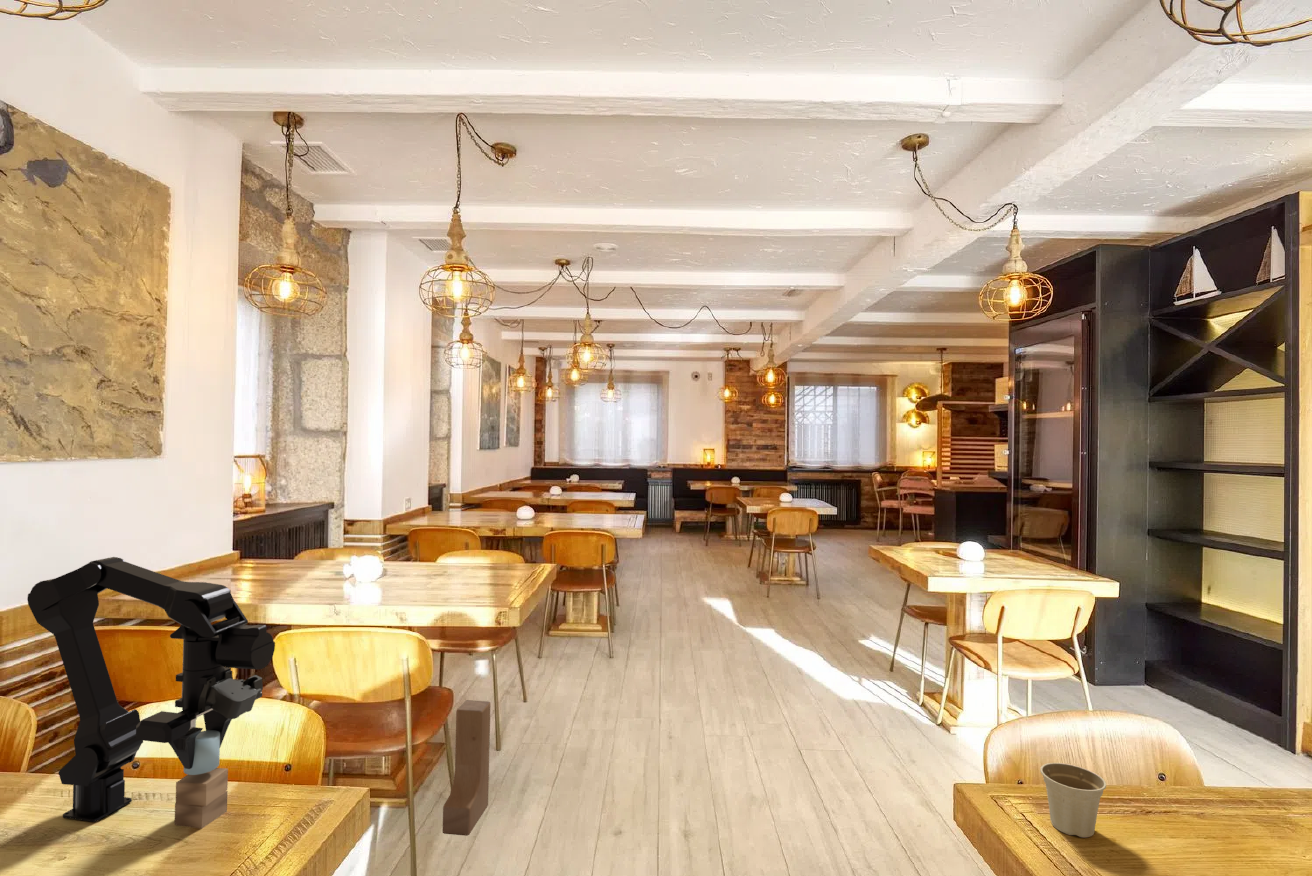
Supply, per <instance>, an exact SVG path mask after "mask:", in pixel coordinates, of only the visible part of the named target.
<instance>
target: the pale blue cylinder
mask: <svg viewBox="0 0 1312 876" xmlns="http://www.w3.org/2000/svg"><path fill="white" fill-rule="evenodd" d="M220 751H221V747H220V732H219V731H215V730H207V731H206V730H202V731H201V732H200V733H199V734H198V735H197V736H196V738H195V751H194V761H193V766H192V768H191V769H185V768H184V767H183V773H184V774H185V775H198V774H203V773H207V772H209V771H212V770H214V769H215V768H219V766H220V755H221V754H220Z"/></svg>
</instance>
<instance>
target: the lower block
mask: <svg viewBox="0 0 1312 876" xmlns="http://www.w3.org/2000/svg"><path fill="white" fill-rule="evenodd" d="M227 812H228V790H226V791H225V792H224V793H222V794H221V795H220V796H218V797H217V798H216V799H215V800H213V801H212V802H211V803H209V804H208V805H207V806H195V805H176V802H175V803H174V826H180V827H187V828H195V829H205V827H206V826H208V825H210V824H211V823H213V822H214V821H215V820H217V819H218V818H220V817H221V816H222V815H224V814H226V813H227Z"/></svg>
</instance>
